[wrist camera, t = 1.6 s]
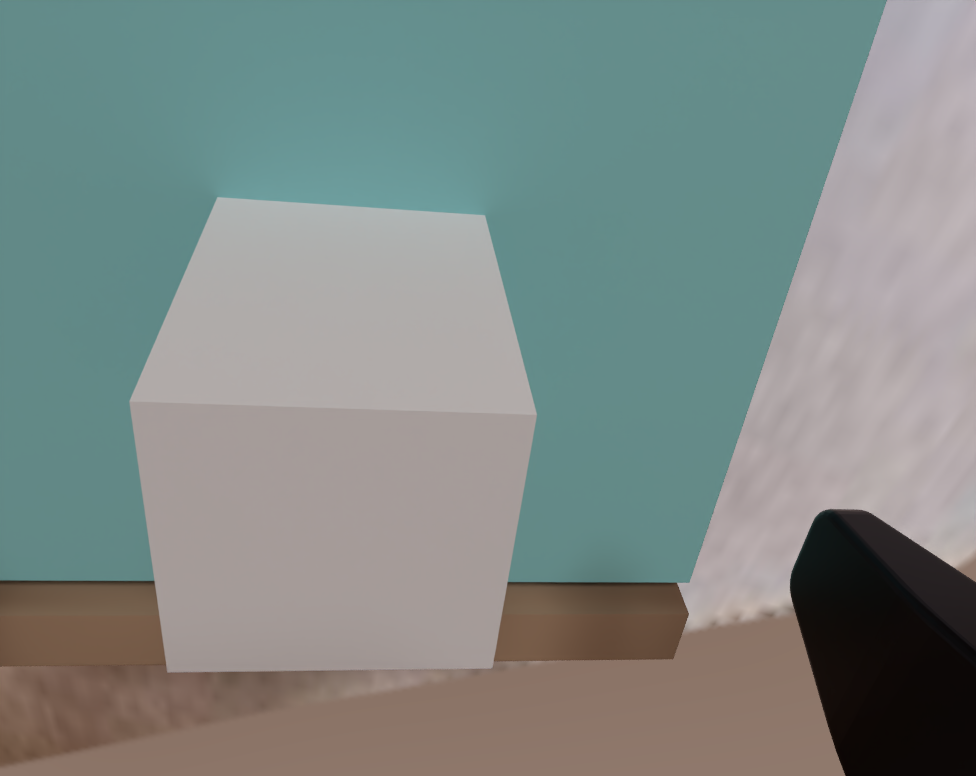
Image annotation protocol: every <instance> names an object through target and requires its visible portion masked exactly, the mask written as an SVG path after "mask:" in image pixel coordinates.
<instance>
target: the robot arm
mask: <svg viewBox="0 0 976 776" xmlns="http://www.w3.org/2000/svg"><path fill="white" fill-rule="evenodd" d="M790 592H791V598H792V602H793V606H794V609H795V613H796V616H797V620H798V623H799V626H800V630H801V633H802V637H803V640H804V644H805V647H806V651H807V654H808V658H809V661H810V665H811V668H812V672H813V675H814V678H815V682H816V686H817V689H818V693H819V696H820V700H821V703H822V707H823V710H824V713H825V717H826V720H827V724H828V727H829V730H830V733H831V736H832V739H833V742H834V745H835V749H836V752H837V754H838V757H839V760H840V762H841V765H842V768H843V770H844V773H845V775H846V776H976V582H975V581H973V580H971V579H970V578H969V577H967V576H965V575H964V574H962V573H961V572H959V571H958V570H956V569H955V568H953V567H952V566H950V565H949V564H947V563H946V562H944V561H943V560H941V559H940V558H938V557H937V556H935V555H934V554H932V553H931V552H929V551H928V550H926V549H924V548H923V547H921V546H920V545H918V544H917V543H915V542H914V541H912V540H911V539H909V538H908V537H906V536H905V535H903V534H902V533H900V532H899V531H897V530H896V529H894V528H893V527H891V526H890V525H888V524H887V523H885V522H883V521H882V520H880V519H879V518H877V517H876V516H874V515H873V514H871V513H869V512H867V511H863V510H846V509H828V510H825V511H822V512H821V513H819V514H818V515H817V516H816V517H815V519H814V521H813V523H812V525H811V528H810V530H809V532H808V535H807V537H806V539H805V542H804V544H803V546H802V549H801V551H800V553H799V556H798V558H797V560H796V563H795V565H794V567H793V570H792V573H791V579H790Z"/></svg>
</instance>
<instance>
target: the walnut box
mask: <svg viewBox="0 0 976 776" xmlns="http://www.w3.org/2000/svg"><path fill="white" fill-rule="evenodd" d="M688 615H689V613H688V611H687V608H686V605H685V603H684V600H683V598H682V595H681V592H680V590H679V587H678V585H677V583H668V582H507V588H506V594H505V600H504V605H503V611H502V617H501V622H500V628H499V634H498V639H497V645H496V651H495V656H494V661H549V660H639V659H673V658H674V655H675V652H676V649H677V647H678V643H679V641H680V638H681V635H682V632H683V629H684V627H685V624H686V621H687V618H688ZM86 665H166V659H165V652H164V645H163V637H162V630H161V623H160V616H159V609H158V602H157V595H156V588H155V581H28V580H0V666H86Z"/></svg>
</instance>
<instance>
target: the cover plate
mask: <svg viewBox="0 0 976 776" xmlns="http://www.w3.org/2000/svg"><path fill="white" fill-rule="evenodd" d="M886 1H887V0H0V580H28V581H155V588H156V595H157V602H158V609H159V616H160V623H161V630H162V637H163V645H164V652H165V659H166V666H167V673H168V672H250V671H333V670H415V669H492V668H493V662H494V656H495V651H496V645H497V639H498V634H499V628H500V622H501V617H502V611H503V605H504V600H505V594H506V588H507V582H668V583H689V582H690V579H691V576H692V573H693V570H694V567H695V564H696V561H697V558H698V555H699V552H700V549H701V547H702V544H703V541H704V538H705V535H706V532H707V529H708V526H709V523H710V520H711V517H712V514H713V511H714V508H715V505H716V502H717V499H718V496H719V493H720V491H721V488H722V485H723V482H724V479H725V476H726V473H727V470H728V467H729V464H730V461H731V458H732V455H733V452H734V449H735V446H736V443H737V440H738V437H739V435H740V432H741V429H742V426H743V423H744V420H745V417H746V414H747V411H748V408H749V405H750V402H751V399H752V396H753V393H754V390H755V387H756V384H757V382H758V379H759V376H760V373H761V370H762V367H763V364H764V361H765V358H766V355H767V352H768V349H769V346H770V343H771V340H772V337H773V334H774V331H775V328H776V326H777V323H778V320H779V317H780V314H781V311H782V308H783V305H784V302H785V299H786V296H787V293H788V290H789V287H790V284H791V281H792V278H793V275H794V272H795V270H796V267H797V264H798V261H799V258H800V255H801V252H802V249H803V246H804V243H805V240H806V237H807V234H808V231H809V228H810V225H811V222H812V219H813V216H814V214H815V211H816V208H817V205H818V202H819V199H820V196H821V193H822V190H823V187H824V184H825V181H826V178H827V175H828V172H829V169H830V166H831V163H832V160H833V158H834V155H835V152H836V149H837V146H838V143H839V140H840V137H841V134H842V131H843V128H844V125H845V122H846V119H847V116H848V113H849V110H850V107H851V104H852V102H853V99H854V96H855V93H856V90H857V87H858V84H859V81H860V78H861V75H862V72H863V69H864V66H865V63H866V60H867V57H868V54H869V51H870V49H871V46H872V43H873V40H874V37H875V34H876V31H877V28H878V25H879V22H880V19H881V16H882V13H883V10H884V7H885V4H886Z"/></svg>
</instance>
